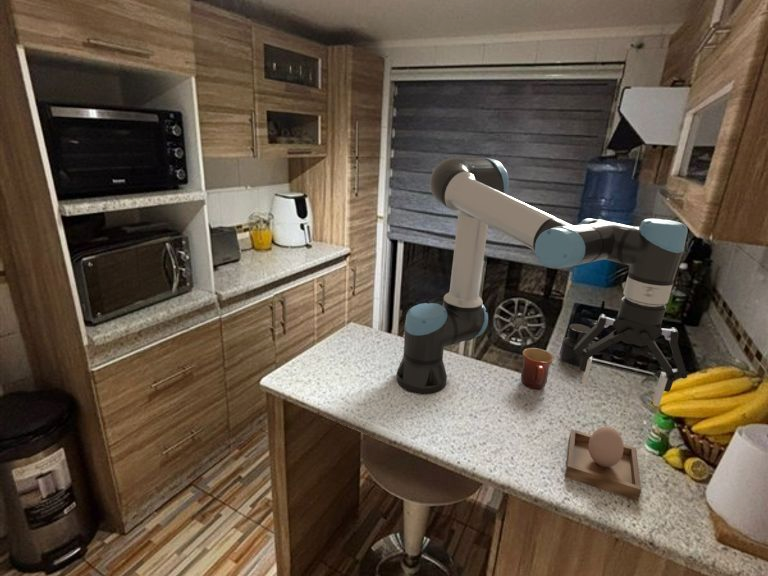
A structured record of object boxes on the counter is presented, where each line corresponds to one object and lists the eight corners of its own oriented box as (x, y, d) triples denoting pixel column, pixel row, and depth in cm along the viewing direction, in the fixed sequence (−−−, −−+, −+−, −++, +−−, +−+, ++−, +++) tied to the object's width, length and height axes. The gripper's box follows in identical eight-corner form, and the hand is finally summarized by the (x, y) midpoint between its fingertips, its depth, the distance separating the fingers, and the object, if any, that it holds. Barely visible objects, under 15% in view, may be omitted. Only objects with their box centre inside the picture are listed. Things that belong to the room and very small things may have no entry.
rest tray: (565, 476, 92) (567, 466, 91) (568, 439, 103) (571, 429, 102) (637, 501, 86) (641, 490, 85) (633, 458, 98) (636, 447, 97)
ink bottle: (592, 360, 142) (600, 328, 138) (583, 369, 136) (591, 336, 132) (564, 350, 148) (570, 319, 144) (554, 359, 142) (560, 327, 138)
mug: (516, 375, 131) (521, 346, 128) (545, 379, 130) (551, 349, 126) (520, 396, 120) (525, 365, 117) (552, 401, 119) (558, 369, 115)
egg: (622, 464, 94) (632, 428, 91) (612, 479, 90) (622, 443, 87) (591, 448, 99) (600, 414, 96) (580, 462, 94) (588, 427, 91)
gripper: (574, 293, 83) (554, 385, 90) (728, 320, 73) (692, 421, 80) (575, 283, 89) (557, 369, 96) (717, 306, 79) (685, 401, 87)
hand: (618, 393), depth 88 cm, fingers open, 13 cm apart
